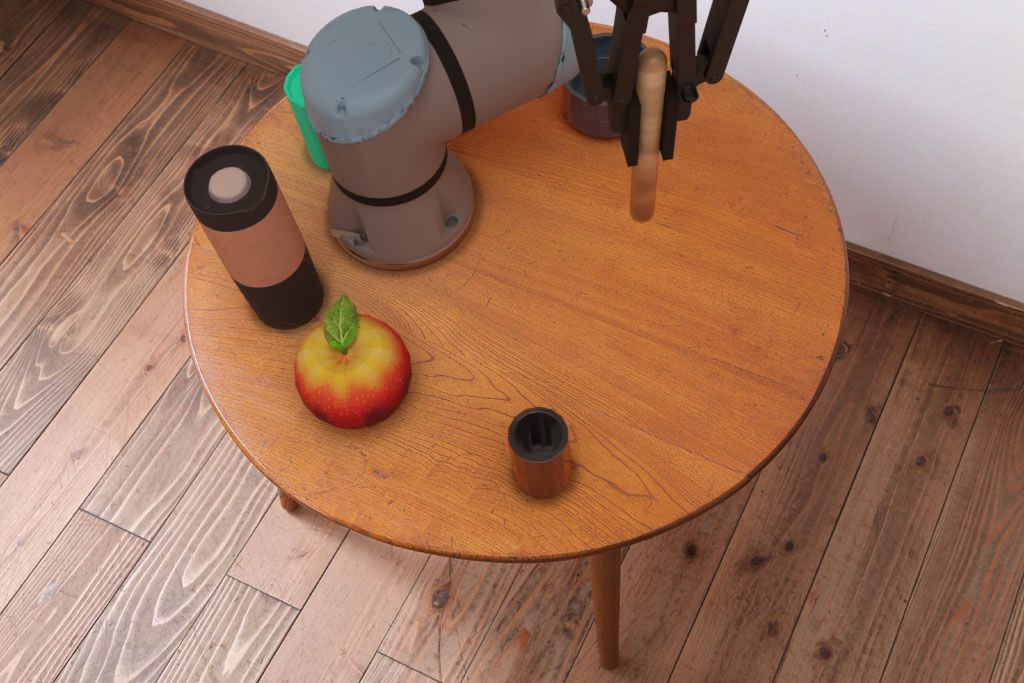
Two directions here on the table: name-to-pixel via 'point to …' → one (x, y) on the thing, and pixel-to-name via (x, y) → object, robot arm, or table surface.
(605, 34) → the bowl
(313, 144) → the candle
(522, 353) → the table surface
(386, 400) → the fruit
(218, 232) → the travel mug
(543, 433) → the holder
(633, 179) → the stick
